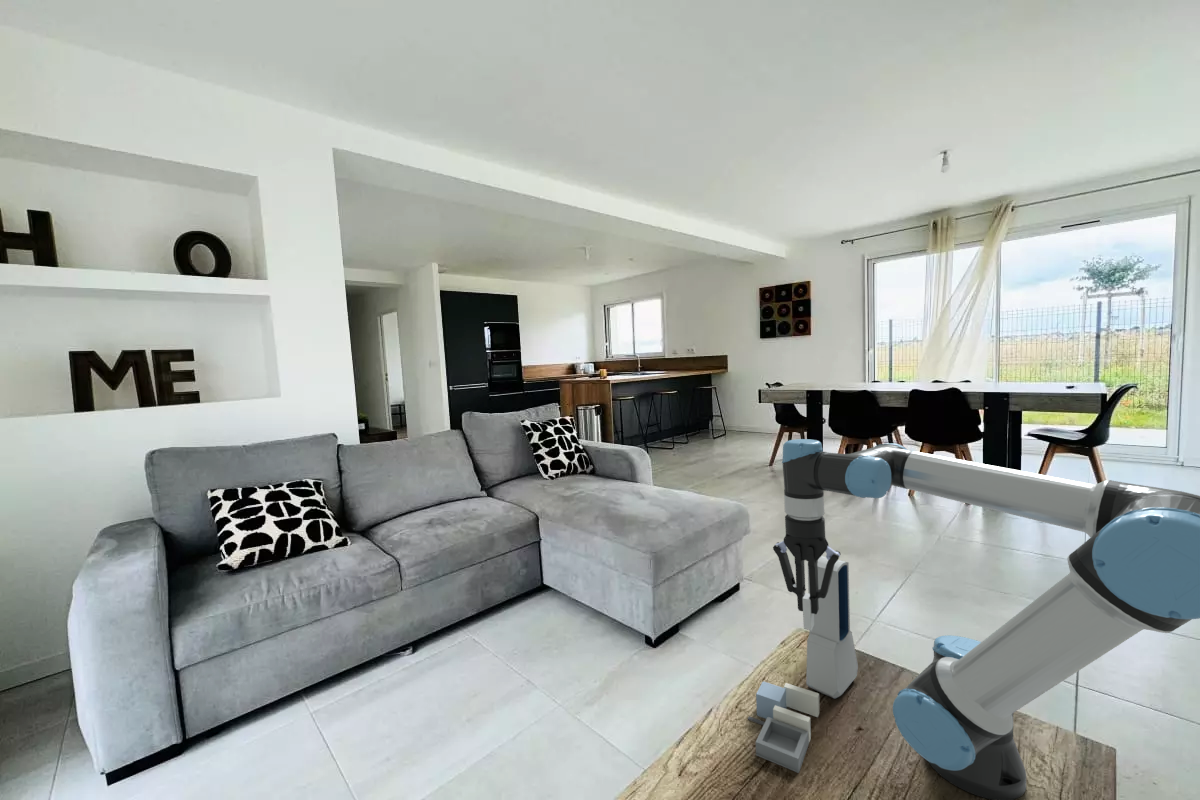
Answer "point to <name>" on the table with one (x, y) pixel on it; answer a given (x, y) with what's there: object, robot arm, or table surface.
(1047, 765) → the table surface
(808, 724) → the channel
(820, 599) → the electronic device
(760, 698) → the block
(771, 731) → the tray
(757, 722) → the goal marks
